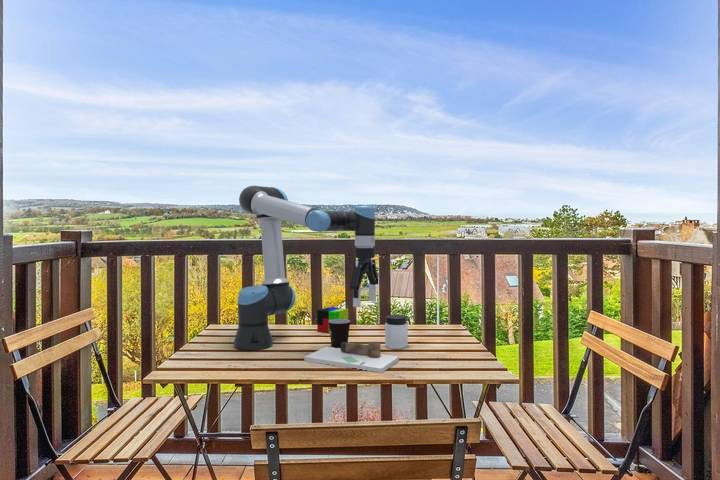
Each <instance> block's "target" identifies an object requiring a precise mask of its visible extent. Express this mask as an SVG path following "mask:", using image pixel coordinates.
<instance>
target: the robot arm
mask: <svg viewBox="0 0 720 480" xmlns="http://www.w3.org/2000/svg"><path fill="white" fill-rule="evenodd" d="M238 197H239V198H238V201H239V205H240V208H241V209H242V210H243V211H244V212H246V213H247V214H253V215H255V216H256V221H258V222H259V223H260V235H261V245H262V246H261V247H262V260H263V261H262V262H263V274H264V275H263V276H264V279H263V281H262V282H261V285H259V284H258V285H253V286H252V285H250V286H245V287H243V288H241V289H240V290H239V291H238V294H237V295H238V296H237V298H238V299H237V312H238V313H237V315H238V316H237V317H238V318H237V319H238V320H237V321H238V322H237V323H238V325H237V326H238V327H237V330H236V333H235V337H234V340H233V348H234V349H237V350H241V351H258V350H263V349H267V348H270V347H272V346H273V337H272V333H271V330H270V327H269V317H272V316H274V315H279V314H283V313H286V312H289V311H291V309H292V308H293V307H294V305H295V303H296V299H297V297H296V291H295V290H294V289H293V286H291V285H290V281H289V280H288V279H287V278H286V273H285V262H284V261H285V259H284V247H283V233H282V221H286V222H289V223H292V224H295V225H296V224H297V225H299V226H303V227H306V228H308V229H309V230H310V231H313V232H317V233H323V232H354V246H355V249H354V258H357V259H358V260H354V261H353V267H352V268H353V269H352V274H351V279H350V284H349V288H350V289H351V290H352V307H353V308H361V307H362V306H361V305H362V303H361V302H362V300H361V299H362V298H361V297H362V296H361V295H362V292H361V291H362V289H361V285H362V282H363V278H364V276H365V274H366V276H367V278H368V282H369V284H368V302H374V303H375V302H377V285H379V275H378V269H377V265H376V259H375V258H376V249H375V246H376V242H375V241H376V240H377V239H376V236H375V235H376V211H375V207H374V206H372V205H356V206H354V211H341V210H339V211H338V210H337V211H336V210H335V211H334V210H324V209H321V208H320V209H319V208H316V207H312V206H308V205H305V204H301V203H297V202H295V201H291V200H289V198H288V195H287V194H286V192H284V191H283V190H282V189H280V188H277V187H274V186H262V185H261V186H260V185H250V186H247V187H245V188H243V189H242V191H241V192H240V194H239V196H238Z"/></svg>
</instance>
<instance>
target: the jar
mask: <svg viewBox="0 0 720 480" xmlns="http://www.w3.org/2000/svg"><path fill="white" fill-rule="evenodd" d="M407 318H408V317H407V315H403V314H388V315H386V316H385V323H384V345H385V347H386V348H388V349H390V350H403V349H406V348H408V345H409V343H408V341H409V340H408V339H409V337H408V334H409V333H408V332H409V331H408V327H409V324H408V322H407V321H408V320H407Z"/></svg>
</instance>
